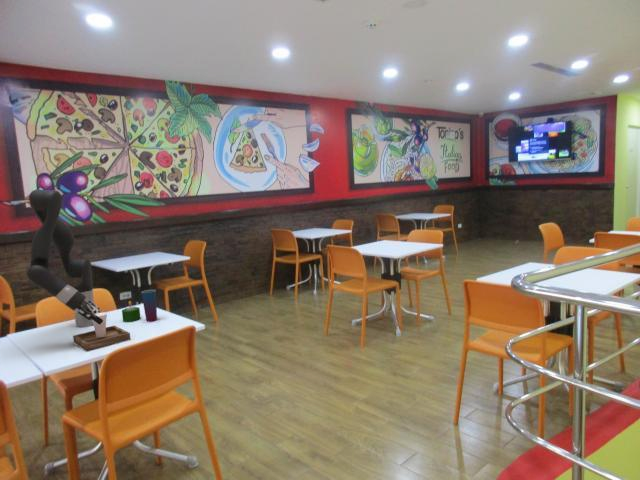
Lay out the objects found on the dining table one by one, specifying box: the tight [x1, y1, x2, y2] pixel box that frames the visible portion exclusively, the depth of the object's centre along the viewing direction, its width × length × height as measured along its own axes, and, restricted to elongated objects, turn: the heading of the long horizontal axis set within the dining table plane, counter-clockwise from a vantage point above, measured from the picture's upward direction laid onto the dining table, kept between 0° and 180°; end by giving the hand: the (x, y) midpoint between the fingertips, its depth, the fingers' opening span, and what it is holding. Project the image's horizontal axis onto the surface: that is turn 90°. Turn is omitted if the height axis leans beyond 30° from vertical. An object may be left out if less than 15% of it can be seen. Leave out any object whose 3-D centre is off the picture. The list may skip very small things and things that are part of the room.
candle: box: [121, 300, 142, 323], centre depth 232 cm, size 8×8×10 cm
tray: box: [72, 325, 132, 352], centre depth 201 cm, size 18×18×3 cm
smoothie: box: [92, 304, 108, 337], centre depth 200 cm, size 6×6×14 cm
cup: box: [141, 289, 158, 323], centre depth 228 cm, size 7×7×15 cm
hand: (103, 320), depth 200 cm, fingers closed on smoothie, 6 cm apart
